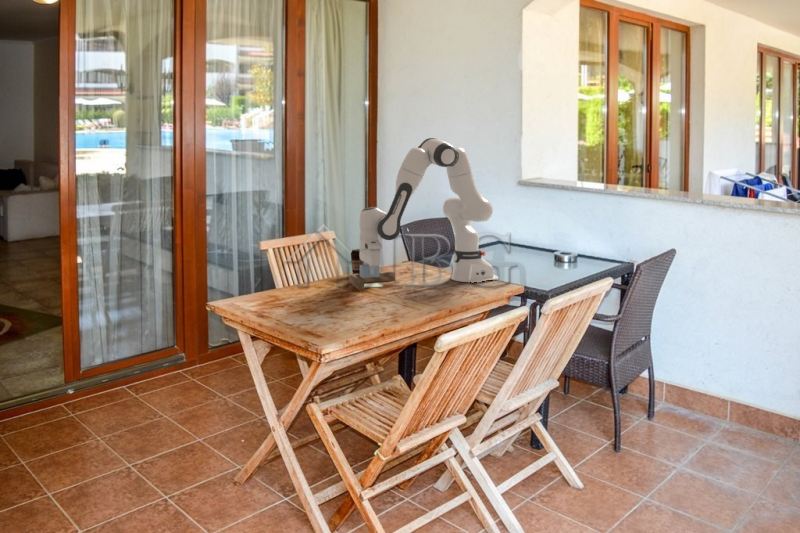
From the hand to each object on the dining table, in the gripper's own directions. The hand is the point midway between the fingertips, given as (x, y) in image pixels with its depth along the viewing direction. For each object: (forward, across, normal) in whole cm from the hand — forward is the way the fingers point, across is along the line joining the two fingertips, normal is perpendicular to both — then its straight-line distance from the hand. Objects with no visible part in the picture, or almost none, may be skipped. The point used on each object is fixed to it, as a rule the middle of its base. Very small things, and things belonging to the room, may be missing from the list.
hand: (369, 272), depth 343 cm
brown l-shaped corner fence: (+6, -1, +4) cm, 8 cm away
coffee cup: (+6, -23, +2) cm, 24 cm away
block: (+2, 0, 0) cm, 2 cm away
